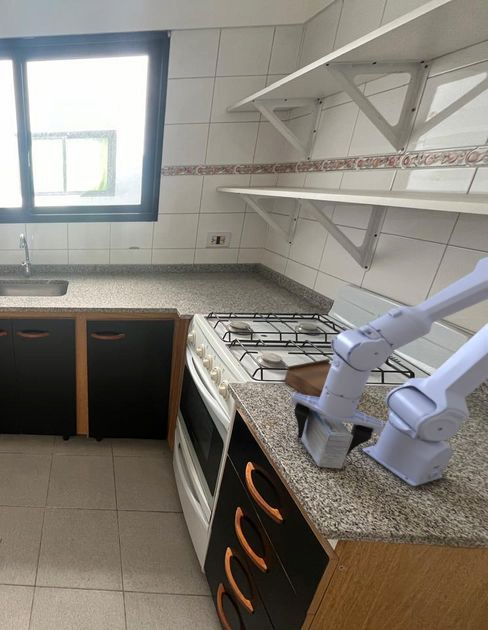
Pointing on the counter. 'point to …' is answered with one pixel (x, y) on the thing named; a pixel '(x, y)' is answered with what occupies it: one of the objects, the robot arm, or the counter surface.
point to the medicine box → (326, 440)
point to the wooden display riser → (308, 377)
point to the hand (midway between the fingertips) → (322, 443)
